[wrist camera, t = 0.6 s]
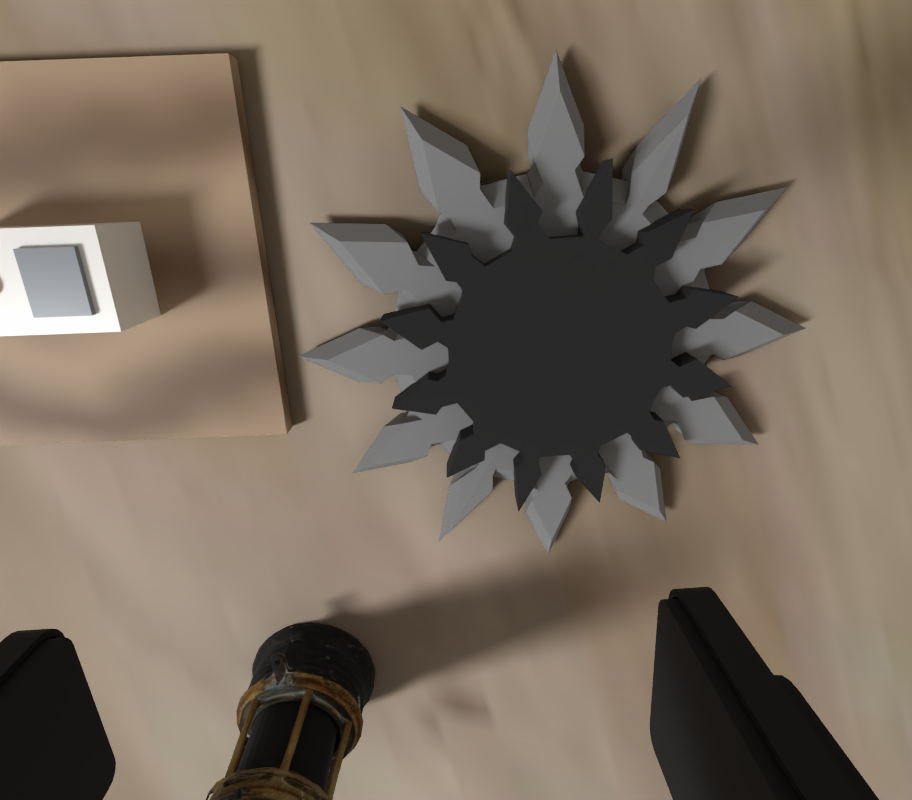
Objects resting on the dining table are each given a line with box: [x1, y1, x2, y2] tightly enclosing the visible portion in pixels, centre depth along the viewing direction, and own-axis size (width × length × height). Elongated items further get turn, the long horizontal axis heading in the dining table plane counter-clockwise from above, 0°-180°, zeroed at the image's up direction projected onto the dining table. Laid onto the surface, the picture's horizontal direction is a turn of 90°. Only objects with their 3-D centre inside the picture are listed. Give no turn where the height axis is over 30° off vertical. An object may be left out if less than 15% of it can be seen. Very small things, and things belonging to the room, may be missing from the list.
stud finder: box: [0, 222, 161, 336], centre depth 28 cm, size 5×8×4 cm, turn 92°
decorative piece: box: [298, 51, 805, 554], centre depth 31 cm, size 30×4×30 cm
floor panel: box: [0, 53, 292, 445], centre depth 30 cm, size 20×29×1 cm
